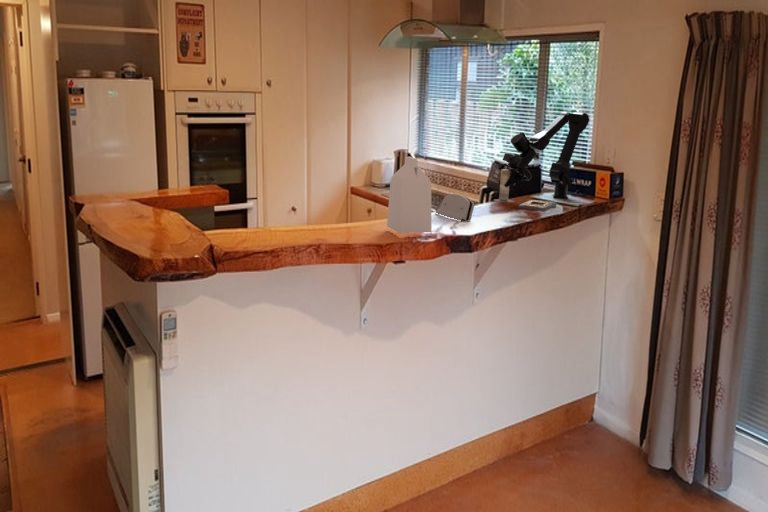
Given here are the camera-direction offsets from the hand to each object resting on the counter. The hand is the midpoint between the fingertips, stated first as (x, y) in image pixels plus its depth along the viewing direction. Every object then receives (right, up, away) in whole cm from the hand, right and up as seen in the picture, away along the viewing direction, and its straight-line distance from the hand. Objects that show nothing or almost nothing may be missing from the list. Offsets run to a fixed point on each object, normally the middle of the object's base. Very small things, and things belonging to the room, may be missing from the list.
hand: (502, 185), depth 298 cm
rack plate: (+13, -10, -9) cm, 19 cm away
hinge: (-24, -16, -34) cm, 45 cm away
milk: (-43, -23, -64) cm, 80 cm away
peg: (+1, -6, +2) cm, 6 cm away
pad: (+1, -7, +2) cm, 7 cm away
